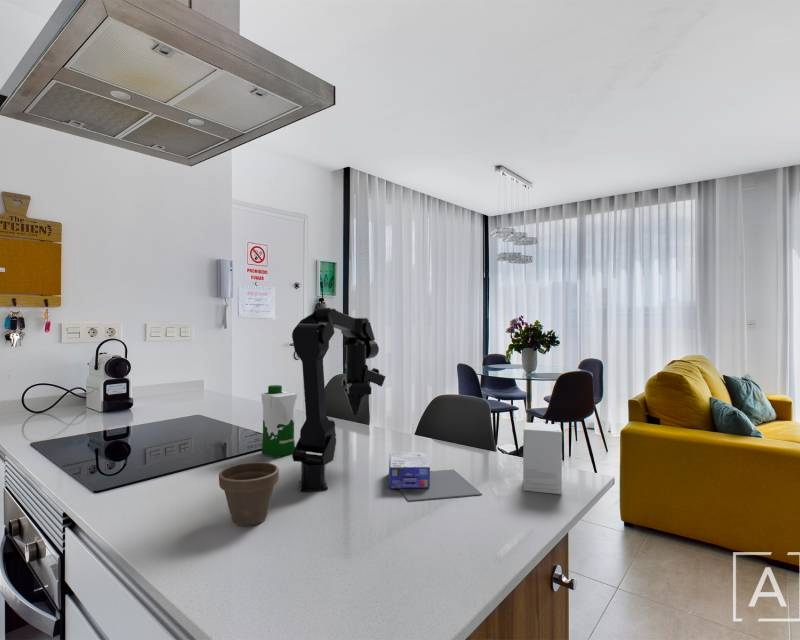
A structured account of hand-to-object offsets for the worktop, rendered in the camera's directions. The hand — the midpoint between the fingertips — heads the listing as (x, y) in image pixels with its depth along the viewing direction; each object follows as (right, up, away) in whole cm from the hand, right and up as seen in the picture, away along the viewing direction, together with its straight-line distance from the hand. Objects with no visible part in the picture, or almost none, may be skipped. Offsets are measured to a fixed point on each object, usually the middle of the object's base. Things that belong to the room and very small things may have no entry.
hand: (355, 414), depth 134 cm
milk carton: (-24, -13, +5) cm, 27 cm away
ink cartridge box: (+15, -11, -11) cm, 21 cm away
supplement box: (+48, -14, -19) cm, 54 cm away
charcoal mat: (+21, -13, -19) cm, 31 cm away
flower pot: (-18, -13, -41) cm, 46 cm away
